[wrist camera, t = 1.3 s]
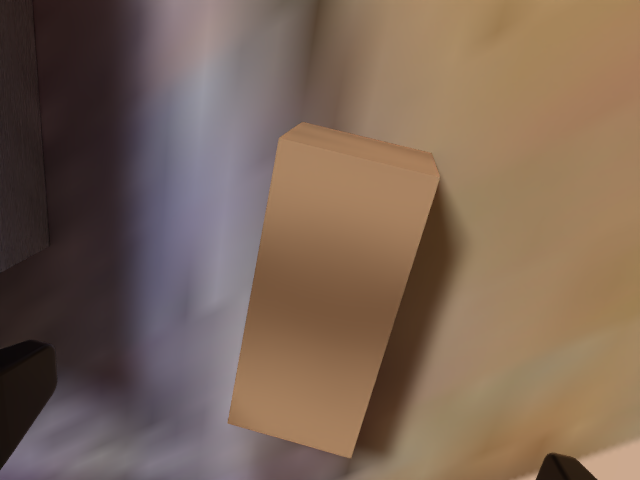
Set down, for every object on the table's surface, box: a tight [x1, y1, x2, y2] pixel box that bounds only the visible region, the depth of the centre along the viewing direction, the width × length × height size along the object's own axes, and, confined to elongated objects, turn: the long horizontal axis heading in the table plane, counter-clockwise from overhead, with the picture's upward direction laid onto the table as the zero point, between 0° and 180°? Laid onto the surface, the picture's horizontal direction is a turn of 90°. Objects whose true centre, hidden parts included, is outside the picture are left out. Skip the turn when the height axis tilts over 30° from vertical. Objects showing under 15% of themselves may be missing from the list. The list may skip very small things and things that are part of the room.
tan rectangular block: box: [228, 122, 440, 458], centre depth 13 cm, size 8×4×3 cm, turn 168°
